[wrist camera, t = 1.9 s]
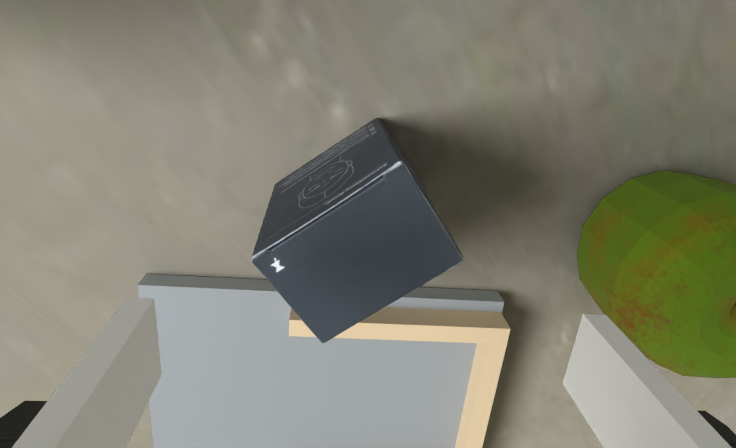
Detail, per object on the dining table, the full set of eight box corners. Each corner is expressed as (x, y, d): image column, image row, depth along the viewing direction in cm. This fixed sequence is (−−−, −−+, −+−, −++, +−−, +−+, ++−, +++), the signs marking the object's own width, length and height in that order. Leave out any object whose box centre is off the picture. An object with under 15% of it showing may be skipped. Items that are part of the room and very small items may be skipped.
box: (324, 250, 32) (320, 349, 22) (273, 183, 30) (244, 258, 20) (426, 188, 31) (468, 263, 21) (379, 113, 29) (403, 158, 19)
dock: (162, 454, 38) (146, 494, 34) (146, 273, 32) (124, 301, 28) (460, 458, 40) (471, 496, 37) (497, 290, 34) (514, 318, 31)
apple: (742, 164, 32) (933, 228, 21) (688, 305, 36) (827, 414, 26) (581, 153, 31) (702, 215, 20) (544, 300, 35) (630, 412, 24)
